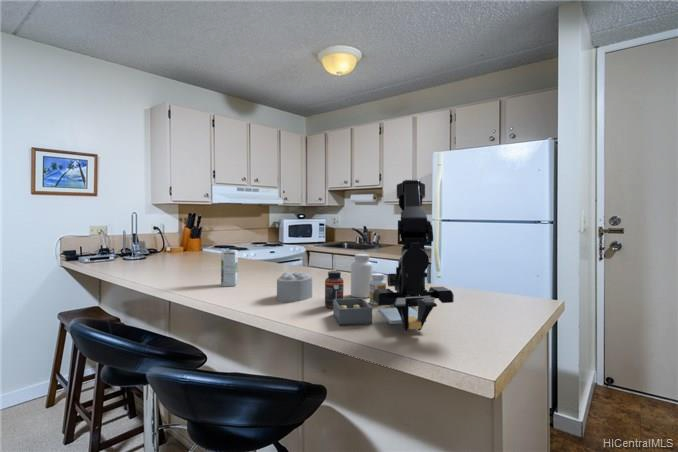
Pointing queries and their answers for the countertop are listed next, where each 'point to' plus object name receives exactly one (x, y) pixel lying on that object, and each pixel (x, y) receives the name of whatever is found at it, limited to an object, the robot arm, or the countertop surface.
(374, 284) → the supplement bottle
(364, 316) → the tub
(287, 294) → the lumpy-topped squat cylinder
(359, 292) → the pill bottle
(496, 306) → the countertop surface
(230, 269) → the syrup box
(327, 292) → the supplement bottle
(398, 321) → the lid
